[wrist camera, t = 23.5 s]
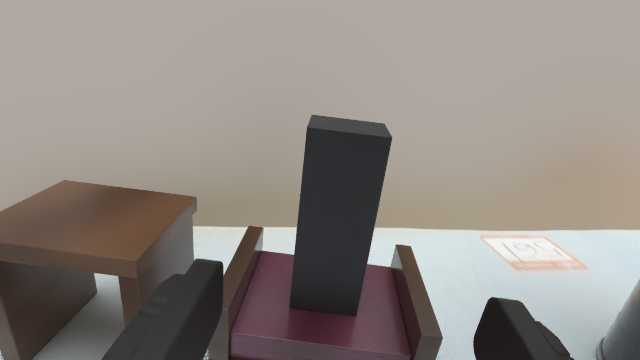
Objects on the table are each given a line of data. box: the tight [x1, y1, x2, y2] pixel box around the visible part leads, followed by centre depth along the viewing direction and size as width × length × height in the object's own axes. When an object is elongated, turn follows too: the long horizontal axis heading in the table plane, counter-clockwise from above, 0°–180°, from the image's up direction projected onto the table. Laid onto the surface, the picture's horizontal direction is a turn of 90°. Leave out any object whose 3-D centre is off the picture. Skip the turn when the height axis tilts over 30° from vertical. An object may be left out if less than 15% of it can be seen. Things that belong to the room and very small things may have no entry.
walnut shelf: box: [0, 180, 197, 360], centre depth 23 cm, size 10×8×10 cm
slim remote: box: [289, 115, 392, 316], centre depth 21 cm, size 4×3×12 cm
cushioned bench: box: [208, 226, 443, 360], centre depth 24 cm, size 13×9×8 cm
